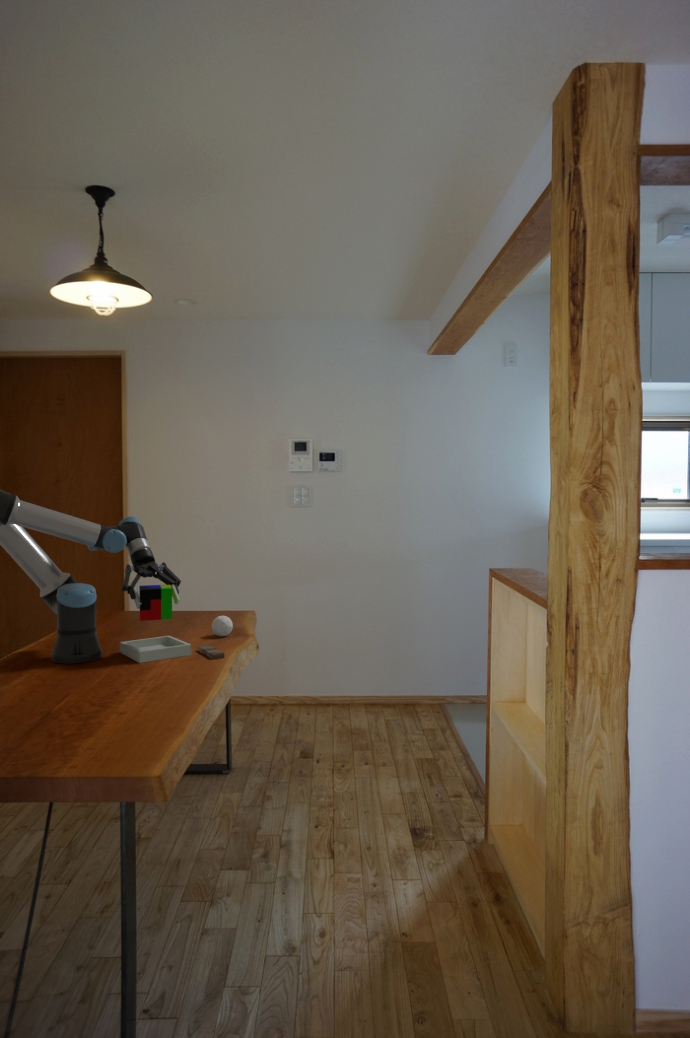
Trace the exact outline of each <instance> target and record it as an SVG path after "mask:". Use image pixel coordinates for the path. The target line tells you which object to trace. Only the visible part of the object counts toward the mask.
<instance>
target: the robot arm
mask: <svg viewBox="0 0 690 1038" xmlns="http://www.w3.org/2000/svg"><path fill="white" fill-rule="evenodd" d="M25 528H26V529H29V530H33V531H36V532H39V533H44V534H47V535H51V536H54V537H57V538H61V539H65V540H68V541H70V542H71V541H72V542H76V543H79V544H81V545H86V546H87V549H88V550H89V551H90V552H94V551H98V552H99V551H101V550H102V551H106V552H108V553H112V554H117V553H120V552H121V551H123V550H124V549H125V548H126V550H127V553H128V556H129V558H130V562H131V564H132V565H130V564H129V563H128V564H126V565H125V569H124V573H125V576H124V580H123V584H122V587H121V591H122V592H127V595H129V596H130V599H131V600H134V601H133V602H134V603H135V606H136V609H138V610H140V604H142V603H140V593H139V592H138V589H137V587H136V585H137V583H138V582H139V581H140V579H141V577H142V578H155V579H158V580H159V581H161V582H162V583H163V584H164V585H171V587H172V600H173V603H174V604H175V606H176V605H178V604H179V603H180V601H181V598H180V596H179V593H180V590H179V587H180V585H181V583H182V580H180V578H179V577H178V576H177V575H176V574H175V573H174V572H173V571H172V570H171V569H170V568H169V567H168V565H167V563H166V562H165V561H164V562H163V561H162V562H161V563H159V564H158V563H157V562H156V558H155V556H154V553H153V551H152V548H151V546H150V542H149V541H148V539H147V535H146V533H145V529H144V526H143V523H141V520H140V519H139V518H138V517H137V516H133V515H131V516H127V517H126V518H122V519H121V520H120V521H119V524H117V525H113V526H112V525H111V526H105V525H102V524H99V523H95V522H92V521H89V520H87V519H83V518H79V517H75V516H74V515H70V514H66V513H63V512H59V511H57V510H53V509H50V508H46V507H44V506H40V505H37V504H34V503H30V502H27V501H24V500H22V499H21V500H20V498H19V497H18V495H15V494H12V493H10V492H7V491H5V490H2V489H0V546H1V547H2V549H4V550H5V552H6V553H7V554H8V555H9V556H10V557H11V558H12V559H13V561H14V563H16V564H17V565H18V566H19V567H20V568H21V569H22V571H24V573H25V574H26V575H27V576H28V577H29V579H31V581H32V582H33V583H34V584H35V585H36V586H37V587H38V588H39V590H40V592H39V597H40V598H41V599H42V600H43V601H44V603H46V605H47V606H49V608H50V610H51V611H52V612H53V613H54V614H55V615H56V617H57V619H56V620H57V621H56V624H57V627H56V629H57V632H56V633H57V636H56V639H55V642H54V646H53V650H52V652H51V661H52V662H53V663H56V664H65V665H66V664H69V665H71V664H82V663H83V664H84V663H89V662H93V661H94V662H95V661H98V660H100V659H101V658H103V648H102V647H101V645H100V640H99V638H98V634H97V599H98V595H97V591H96V588H95V587H94V586H93V585H91V584H89V583H80V582H79V583H78V582H77V580H76V579H75V578H74V577H73V576H72V575H71V573H69V572H63V571H62V570H61V569H60V568H59V567H58V566H57V564H55V562H54V561H53V559H51V558H50V557H49V555H48V554H47V553H46V552H45V551H44V549H42V547H41V546H40V545H39V544H38V543H37V542H36V540H35V539H34V537H32V536H31V535H30V534H29V533H28V531H27V530H26V529H25ZM133 572H134V573H135V577H134V578H133V580H132V581H131V583H130V585H129V581H130V577H131V573H133Z"/></svg>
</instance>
